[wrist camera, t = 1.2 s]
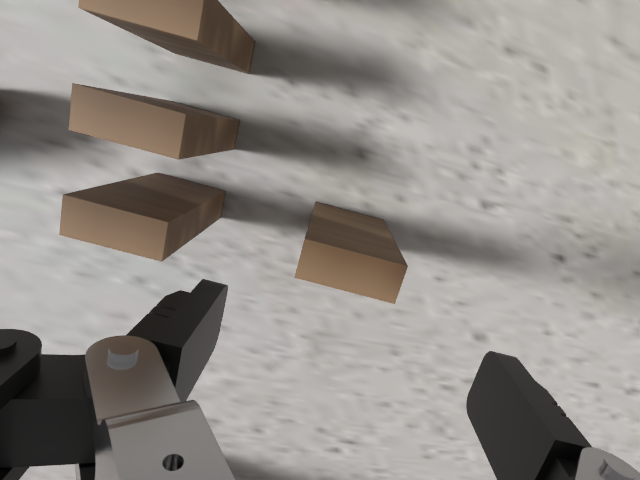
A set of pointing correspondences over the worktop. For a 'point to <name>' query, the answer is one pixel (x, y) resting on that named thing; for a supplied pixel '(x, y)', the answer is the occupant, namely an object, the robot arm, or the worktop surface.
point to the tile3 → (182, 28)
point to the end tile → (351, 254)
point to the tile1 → (141, 214)
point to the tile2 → (150, 123)
